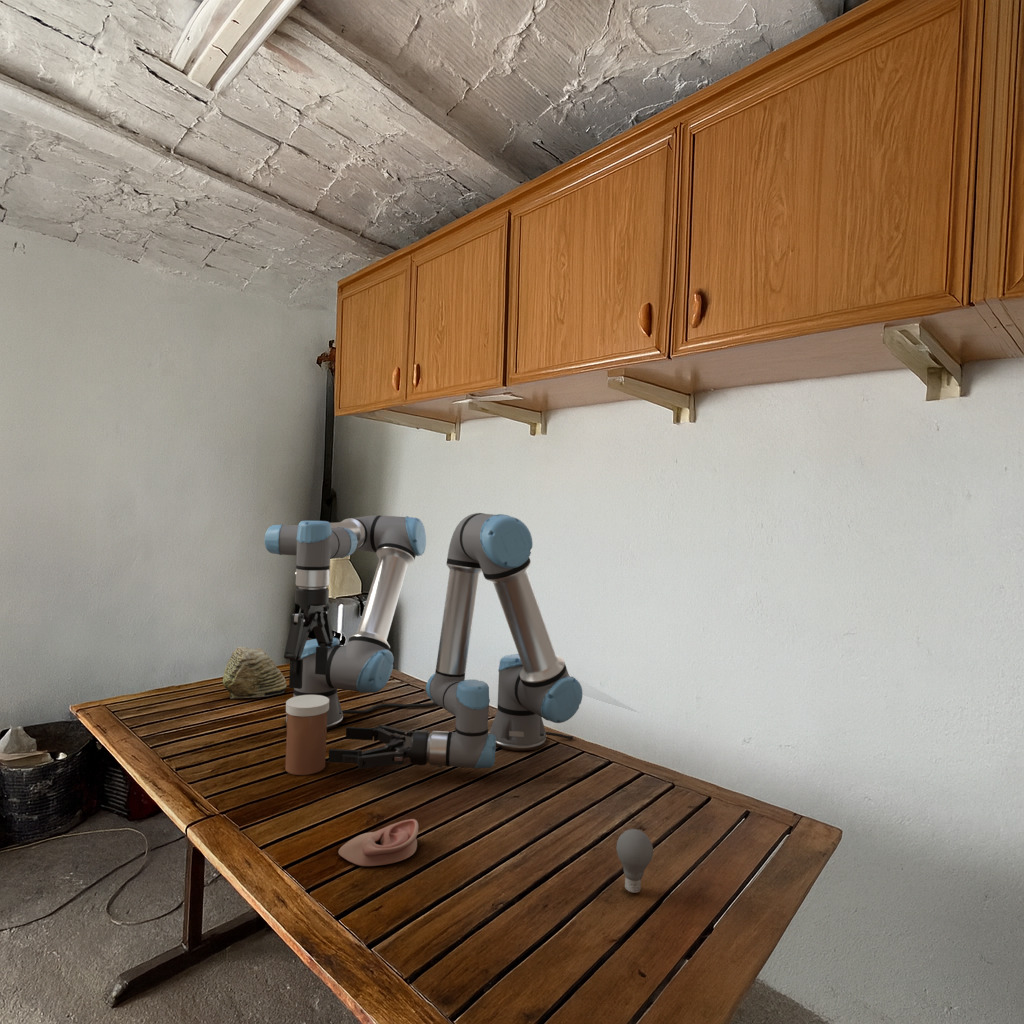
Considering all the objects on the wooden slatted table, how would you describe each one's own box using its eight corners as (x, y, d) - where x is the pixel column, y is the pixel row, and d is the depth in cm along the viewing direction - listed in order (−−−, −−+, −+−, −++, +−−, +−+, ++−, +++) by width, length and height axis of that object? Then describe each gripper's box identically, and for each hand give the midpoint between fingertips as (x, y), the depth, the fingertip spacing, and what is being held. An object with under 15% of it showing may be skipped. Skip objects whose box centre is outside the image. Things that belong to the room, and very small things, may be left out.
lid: (319, 718, 142) (319, 709, 142) (278, 714, 143) (278, 706, 143) (335, 704, 152) (335, 696, 152) (296, 701, 153) (297, 693, 153)
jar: (316, 776, 143) (318, 710, 143) (278, 773, 144) (280, 707, 144) (331, 760, 152) (333, 698, 152) (295, 757, 153) (297, 695, 153)
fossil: (218, 695, 195) (220, 647, 195) (278, 685, 208) (279, 640, 207) (228, 703, 189) (230, 653, 188) (289, 692, 201) (290, 645, 201)
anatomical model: (330, 838, 110) (359, 807, 121) (329, 861, 110) (358, 828, 121) (402, 850, 107) (425, 817, 119) (401, 873, 108) (424, 838, 119)
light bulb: (610, 879, 108) (613, 822, 108) (644, 879, 109) (647, 822, 109) (619, 902, 102) (622, 840, 102) (655, 901, 103) (658, 840, 103)
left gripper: (321, 580, 159) (318, 666, 160) (269, 592, 136) (265, 693, 137) (349, 582, 158) (346, 669, 158) (301, 595, 135) (297, 697, 135)
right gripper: (419, 788, 134) (320, 783, 135) (435, 743, 159) (351, 739, 160) (421, 753, 134) (321, 748, 134) (437, 713, 159) (353, 709, 159)
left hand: (308, 680), depth 148 cm, fingers open, 11 cm apart
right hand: (337, 743), depth 147 cm, fingers open, 13 cm apart
